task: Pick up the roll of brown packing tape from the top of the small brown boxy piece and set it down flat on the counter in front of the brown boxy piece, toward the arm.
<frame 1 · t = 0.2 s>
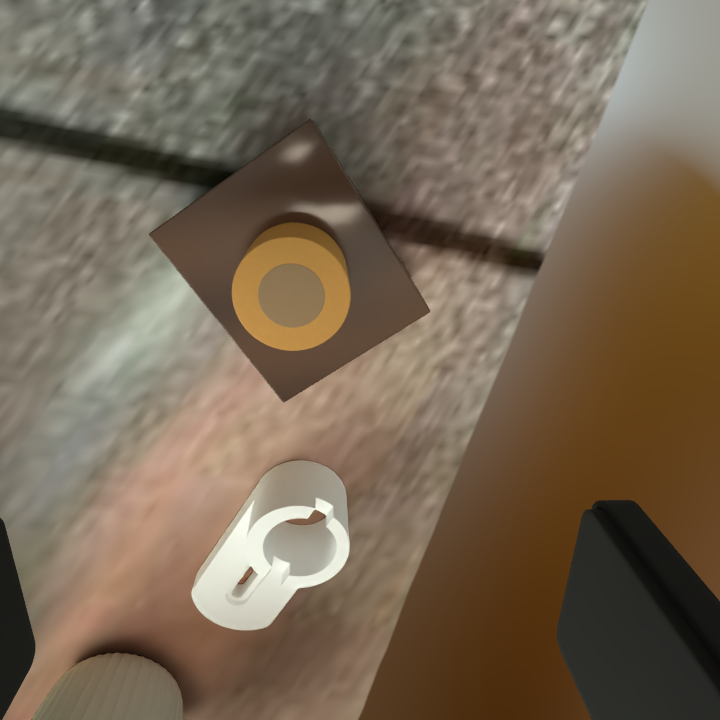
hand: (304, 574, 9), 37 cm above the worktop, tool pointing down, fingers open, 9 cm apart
tape roll: (295, 274, 35), point 9 cm above the worktop, touching brown boxy piece
brown boxy piece: (301, 246, 44), on the worktop
canister: (125, 684, 61), on the worktop
light grey rounded piece: (271, 538, 55), on the worktop
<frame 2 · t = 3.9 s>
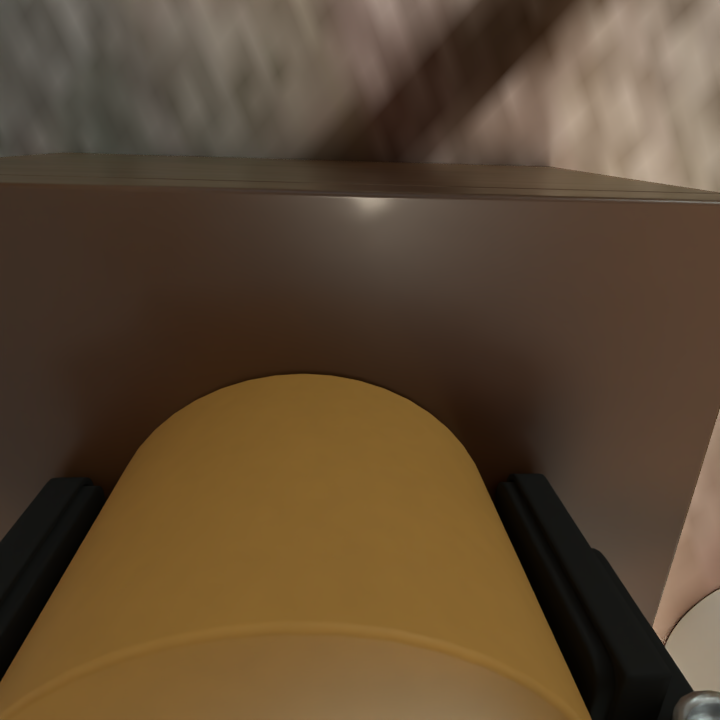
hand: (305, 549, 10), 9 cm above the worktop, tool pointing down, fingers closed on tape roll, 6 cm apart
tape roll: (305, 542, 10), point 9 cm above the worktop, touching gripper, brown boxy piece
brown boxy piece: (313, 354, 18), on the worktop
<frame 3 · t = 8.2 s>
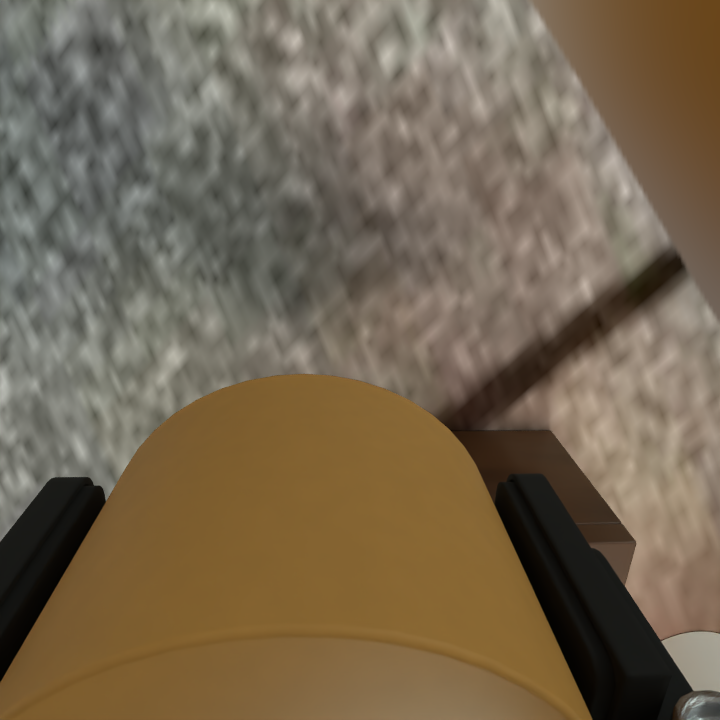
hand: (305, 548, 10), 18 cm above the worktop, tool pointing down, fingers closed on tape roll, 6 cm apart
tape roll: (305, 542, 10), point 18 cm above the worktop, touching gripper
brown boxy piece: (416, 521, 32), on the worktop
when the fingers open (0 cm above the worktop, at t = 12.6 s): tape roll stays where it is, on the worktop.
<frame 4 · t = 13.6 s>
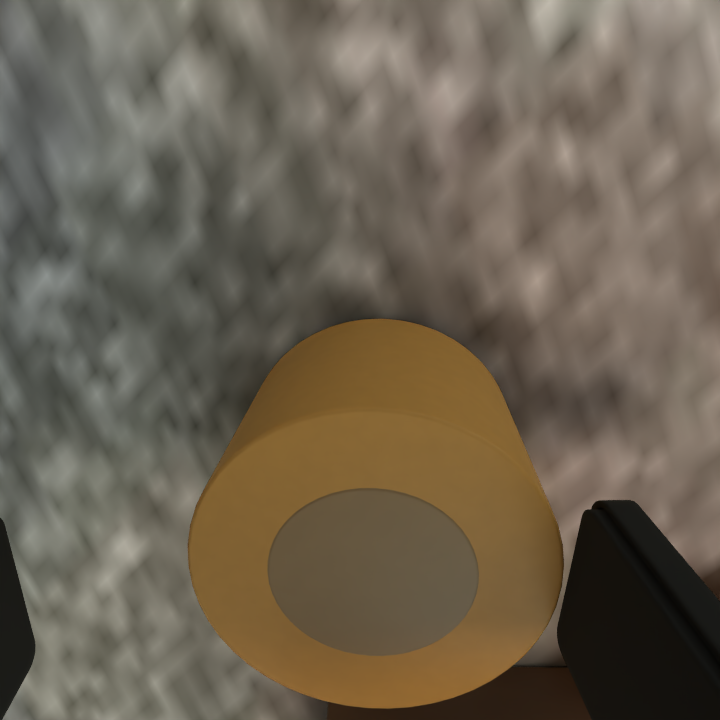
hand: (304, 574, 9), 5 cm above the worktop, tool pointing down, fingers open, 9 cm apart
tape roll: (379, 441, 14), on the worktop
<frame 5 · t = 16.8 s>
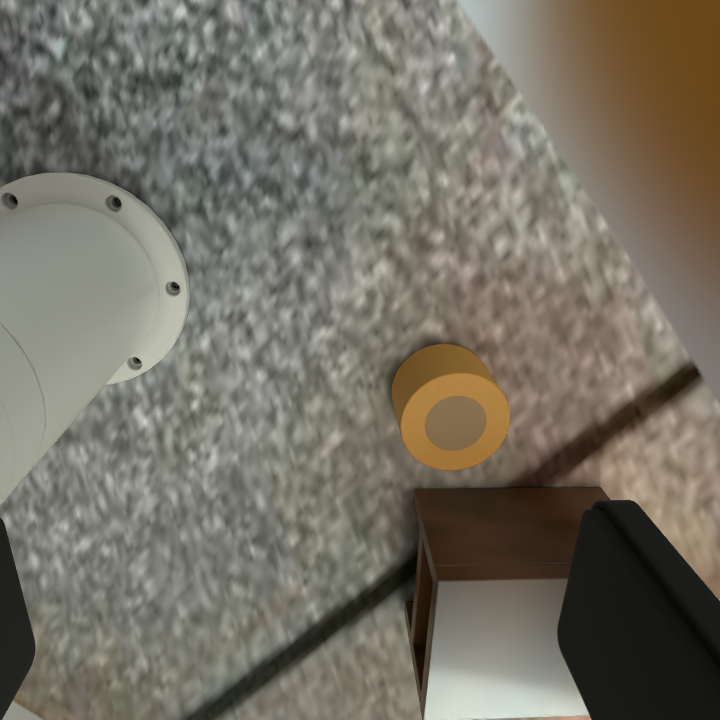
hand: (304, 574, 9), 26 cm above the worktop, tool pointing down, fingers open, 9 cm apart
tape roll: (440, 389, 37), on the worktop
brown boxy piece: (498, 552, 43), on the worktop
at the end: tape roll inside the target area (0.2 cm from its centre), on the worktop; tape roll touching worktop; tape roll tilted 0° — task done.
